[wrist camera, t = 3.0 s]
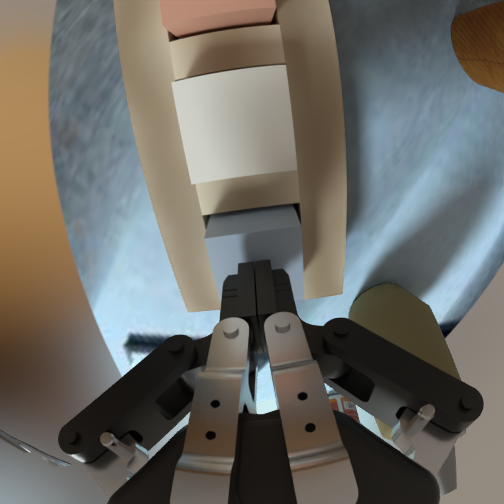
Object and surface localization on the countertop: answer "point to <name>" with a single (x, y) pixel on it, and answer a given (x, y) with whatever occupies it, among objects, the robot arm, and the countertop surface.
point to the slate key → (256, 243)
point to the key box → (247, 187)
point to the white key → (236, 123)
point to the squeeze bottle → (408, 344)
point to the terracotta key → (214, 15)
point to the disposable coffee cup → (481, 44)
